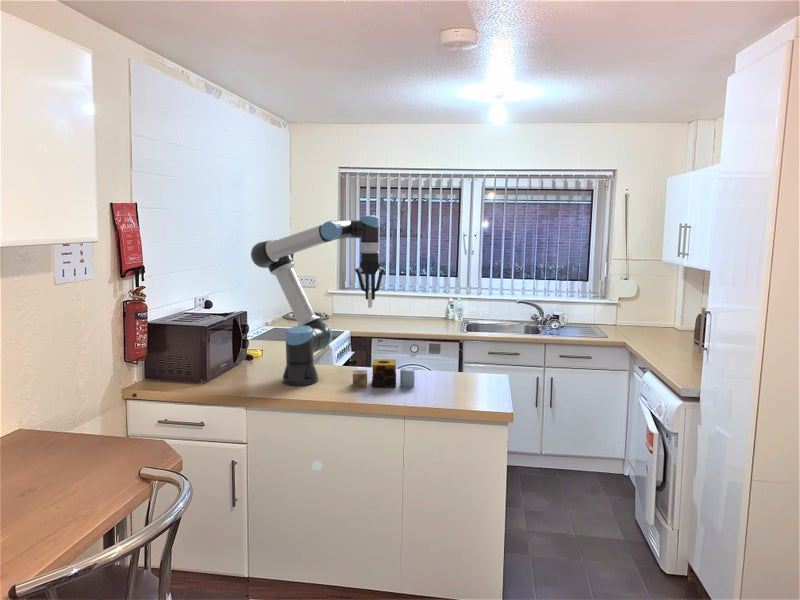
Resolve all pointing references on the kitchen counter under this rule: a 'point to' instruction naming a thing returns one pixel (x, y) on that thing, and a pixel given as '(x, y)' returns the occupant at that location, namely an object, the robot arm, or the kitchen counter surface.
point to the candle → (384, 373)
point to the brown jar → (359, 378)
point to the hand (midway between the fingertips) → (370, 307)
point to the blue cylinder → (407, 378)
